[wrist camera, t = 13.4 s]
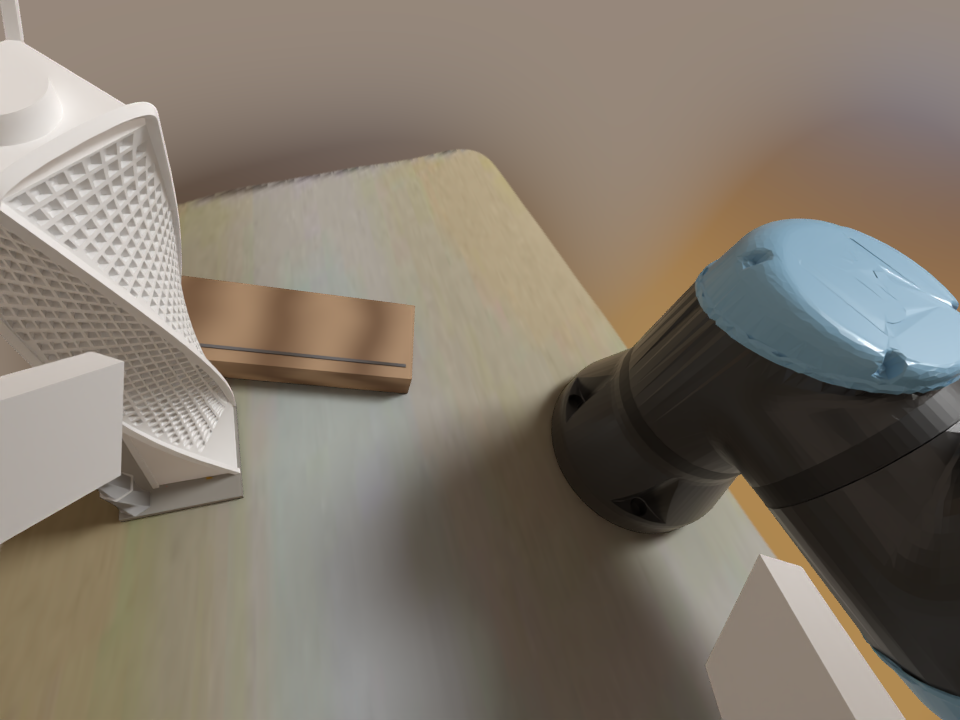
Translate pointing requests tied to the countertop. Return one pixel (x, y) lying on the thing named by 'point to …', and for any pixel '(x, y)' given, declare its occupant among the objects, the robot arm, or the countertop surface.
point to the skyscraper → (108, 275)
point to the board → (301, 335)
